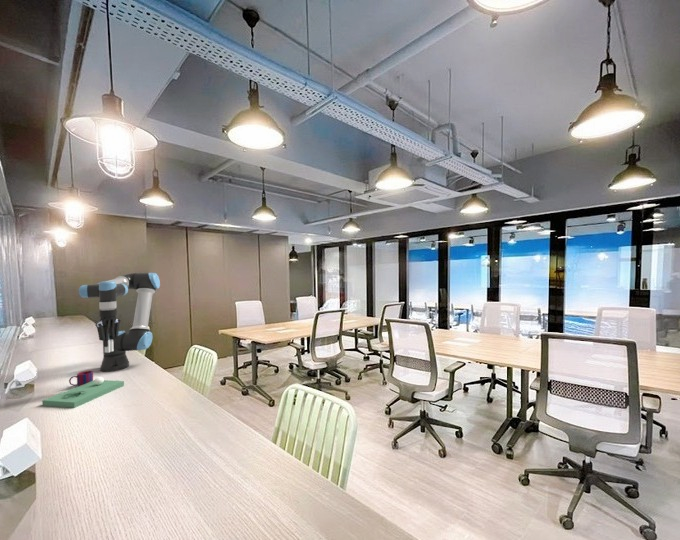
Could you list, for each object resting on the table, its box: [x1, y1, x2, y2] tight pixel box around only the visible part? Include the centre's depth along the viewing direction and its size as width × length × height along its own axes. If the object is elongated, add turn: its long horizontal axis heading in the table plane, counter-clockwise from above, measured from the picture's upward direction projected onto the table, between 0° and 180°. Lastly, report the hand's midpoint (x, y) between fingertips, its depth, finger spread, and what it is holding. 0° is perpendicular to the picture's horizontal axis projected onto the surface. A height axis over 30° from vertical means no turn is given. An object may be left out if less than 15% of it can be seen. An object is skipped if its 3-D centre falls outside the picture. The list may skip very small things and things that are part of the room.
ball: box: [93, 376, 105, 385], centre depth 158 cm, size 4×4×4 cm
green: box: [41, 379, 125, 409], centre depth 151 cm, size 26×18×2 cm
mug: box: [68, 370, 94, 387], centre depth 164 cm, size 7×10×7 cm
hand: (109, 351), depth 164 cm, fingers closed
